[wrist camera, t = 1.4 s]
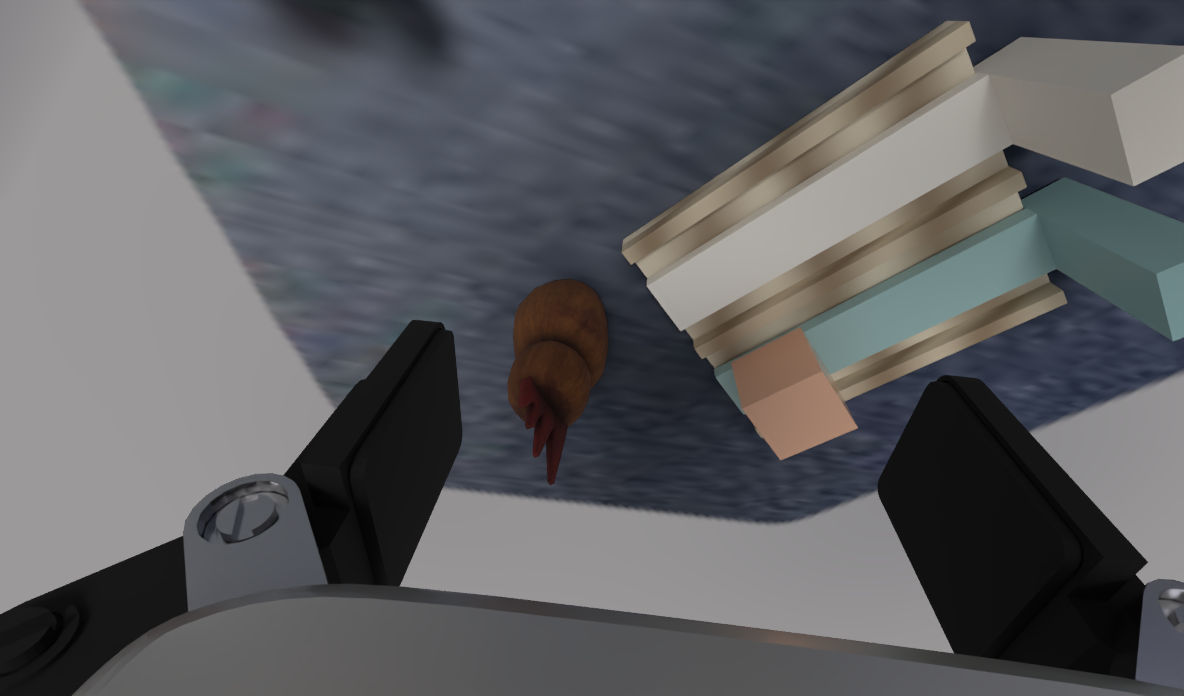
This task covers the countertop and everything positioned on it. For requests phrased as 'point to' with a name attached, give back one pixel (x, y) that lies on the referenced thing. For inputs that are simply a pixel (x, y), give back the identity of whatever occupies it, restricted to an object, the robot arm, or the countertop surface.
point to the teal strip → (1015, 274)
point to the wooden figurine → (556, 361)
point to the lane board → (869, 251)
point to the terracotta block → (791, 395)
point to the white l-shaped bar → (954, 156)
